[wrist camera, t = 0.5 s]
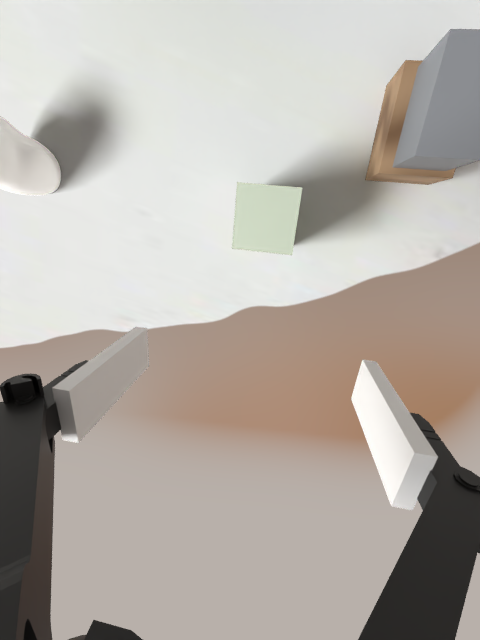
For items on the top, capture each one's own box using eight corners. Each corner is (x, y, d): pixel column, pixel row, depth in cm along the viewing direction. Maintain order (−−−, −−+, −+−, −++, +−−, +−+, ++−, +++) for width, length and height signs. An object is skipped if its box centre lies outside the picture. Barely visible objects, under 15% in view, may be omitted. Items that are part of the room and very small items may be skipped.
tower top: (418, 66, 24) (450, 29, 19) (478, 68, 23) (526, 30, 19) (392, 167, 27) (414, 155, 22) (445, 171, 26) (480, 160, 22)
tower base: (385, 86, 29) (405, 60, 24) (455, 89, 28) (490, 62, 23) (364, 180, 32) (378, 173, 27) (427, 184, 31) (452, 178, 26)
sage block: (249, 193, 34) (237, 182, 25) (297, 197, 33) (302, 187, 24) (245, 242, 36) (232, 248, 27) (289, 246, 35) (292, 255, 26)
